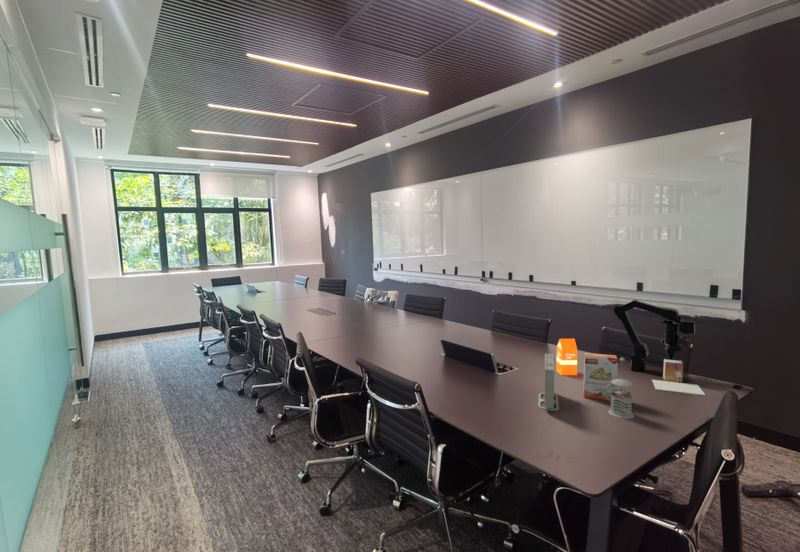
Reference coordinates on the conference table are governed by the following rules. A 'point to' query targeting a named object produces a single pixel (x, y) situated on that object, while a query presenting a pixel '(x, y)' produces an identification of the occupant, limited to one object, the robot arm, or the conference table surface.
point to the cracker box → (599, 375)
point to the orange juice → (567, 357)
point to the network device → (549, 386)
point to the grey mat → (678, 387)
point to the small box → (673, 370)
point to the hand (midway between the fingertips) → (670, 359)
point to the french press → (619, 409)
